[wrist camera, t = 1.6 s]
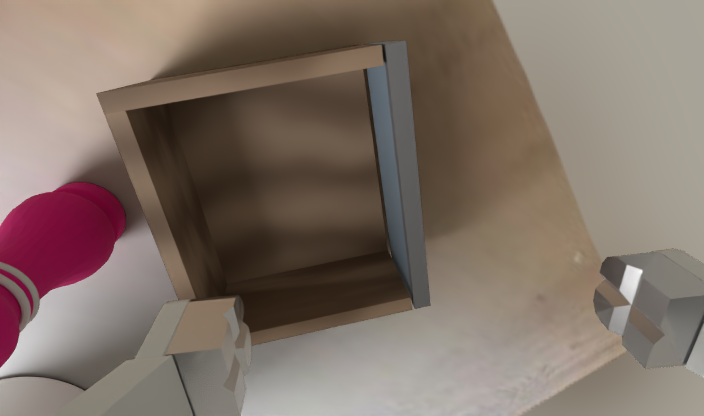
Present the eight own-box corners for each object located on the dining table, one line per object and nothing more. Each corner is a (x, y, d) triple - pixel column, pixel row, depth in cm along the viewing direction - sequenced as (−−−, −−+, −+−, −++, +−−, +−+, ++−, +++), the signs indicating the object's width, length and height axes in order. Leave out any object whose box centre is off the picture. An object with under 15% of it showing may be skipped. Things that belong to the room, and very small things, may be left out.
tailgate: (404, 257, 39) (430, 305, 32) (391, 260, 39) (415, 308, 32) (378, 41, 32) (406, 40, 24) (362, 44, 31) (385, 44, 24)
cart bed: (385, 253, 41) (411, 309, 32) (220, 288, 39) (201, 356, 31) (356, 45, 33) (381, 44, 24) (149, 80, 32) (96, 93, 23)
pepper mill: (147, 236, 36) (4, 429, 18) (72, 262, 36) (-148, 483, 18) (104, 164, 33) (-120, 307, 15) (22, 193, 33) (-303, 372, 15)
